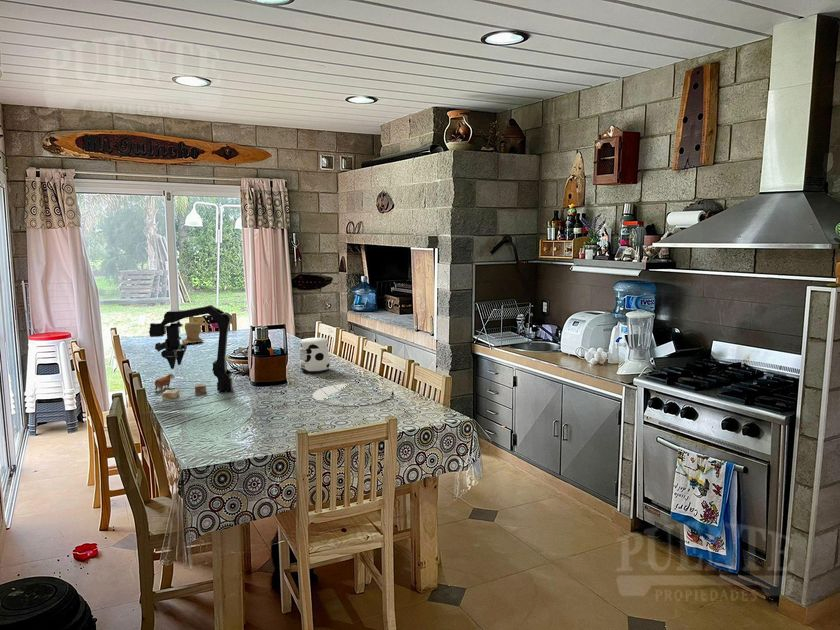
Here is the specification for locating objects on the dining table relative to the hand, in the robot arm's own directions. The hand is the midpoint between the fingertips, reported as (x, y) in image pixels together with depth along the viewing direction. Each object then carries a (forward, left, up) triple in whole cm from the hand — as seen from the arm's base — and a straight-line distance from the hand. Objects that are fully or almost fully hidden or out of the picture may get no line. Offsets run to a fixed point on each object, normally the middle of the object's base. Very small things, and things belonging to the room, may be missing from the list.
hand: (175, 366), depth 301 cm
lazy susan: (-88, +9, -14) cm, 90 cm away
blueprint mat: (-3, +12, -13) cm, 18 cm away
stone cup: (+35, -134, -14) cm, 139 cm away
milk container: (-63, -43, -14) cm, 78 cm away
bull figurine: (+8, -5, -14) cm, 16 cm away
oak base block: (-1, +12, -12) cm, 17 cm away
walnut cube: (-13, +4, -13) cm, 19 cm away
